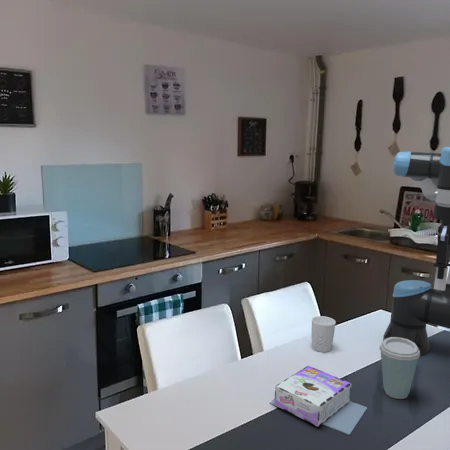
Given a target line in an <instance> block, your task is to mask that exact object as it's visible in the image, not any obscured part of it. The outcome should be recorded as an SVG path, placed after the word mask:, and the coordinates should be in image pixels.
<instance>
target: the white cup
mask: <svg viewBox="0 0 450 450" xmlns="http://www.w3.org/2000/svg"><path fill="white" fill-rule="evenodd" d="M335 329H336V320H335V319H333V318H332V317H328V316H323V315H317V316H314V317H312V318H311V348H312V350H314V351H316V352H320V353H328V352H330V351H332V349H333V343H334V342H333V341H334V336H335Z"/></svg>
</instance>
